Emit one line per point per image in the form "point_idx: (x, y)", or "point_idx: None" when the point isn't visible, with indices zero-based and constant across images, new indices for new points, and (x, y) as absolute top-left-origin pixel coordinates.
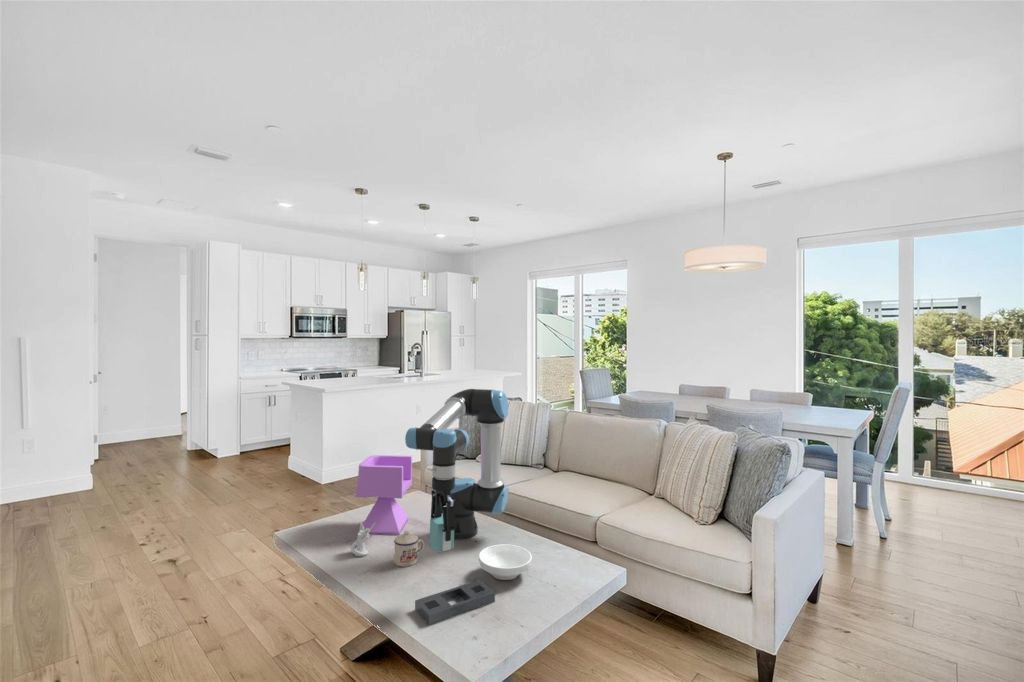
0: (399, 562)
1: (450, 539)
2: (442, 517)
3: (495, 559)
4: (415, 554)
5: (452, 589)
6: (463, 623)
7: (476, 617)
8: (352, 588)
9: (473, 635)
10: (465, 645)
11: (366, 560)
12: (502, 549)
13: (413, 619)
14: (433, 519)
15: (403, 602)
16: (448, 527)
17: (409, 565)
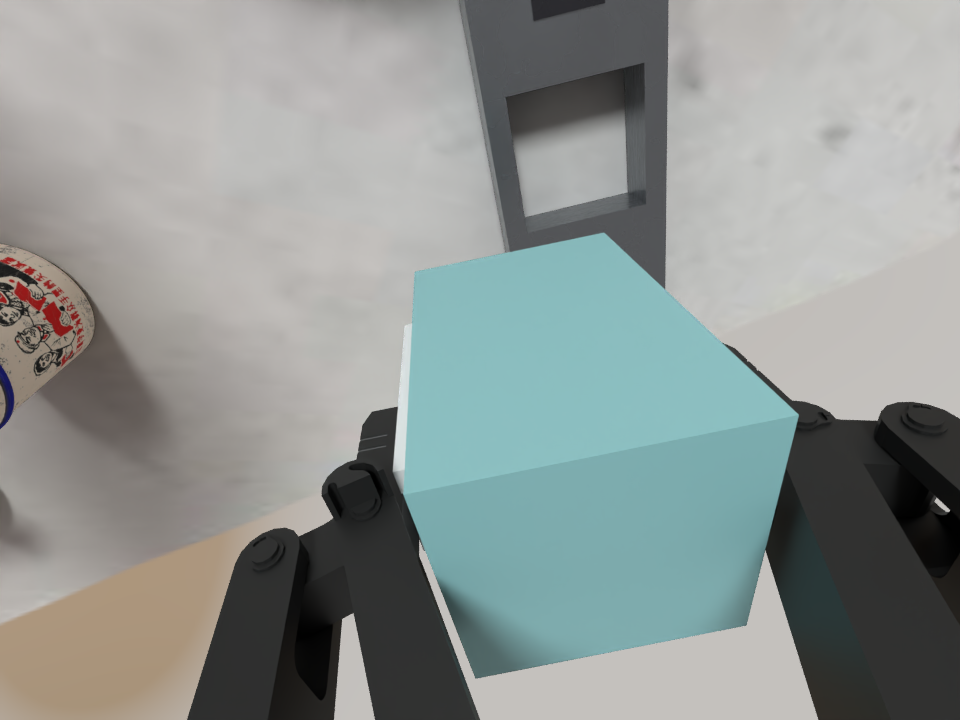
0: (78, 353)
1: (732, 351)
2: (483, 558)
3: None
4: (7, 282)
5: (502, 151)
6: (718, 153)
7: (716, 68)
8: (291, 502)
9: (819, 137)
10: (845, 192)
11: (25, 463)
12: None
13: None
14: (518, 652)
15: None
16: (948, 534)
17: (84, 296)
